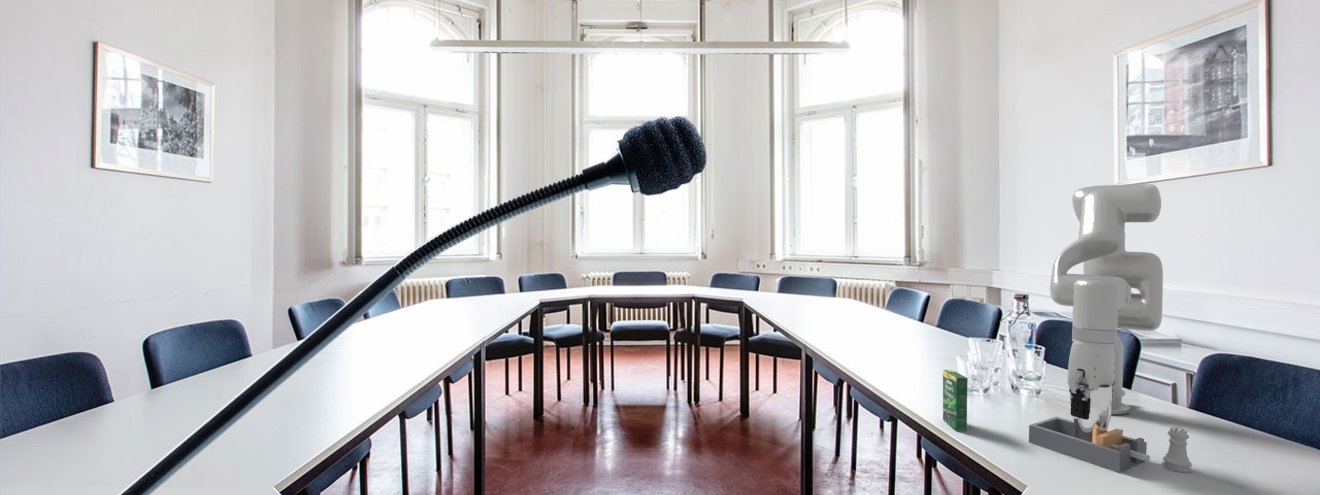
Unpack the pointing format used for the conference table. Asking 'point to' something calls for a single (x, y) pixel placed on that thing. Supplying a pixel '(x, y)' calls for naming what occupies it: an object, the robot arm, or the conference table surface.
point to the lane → (1085, 445)
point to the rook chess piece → (1177, 452)
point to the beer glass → (1095, 415)
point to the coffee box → (955, 400)
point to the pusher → (1118, 443)
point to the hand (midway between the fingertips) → (1091, 413)
